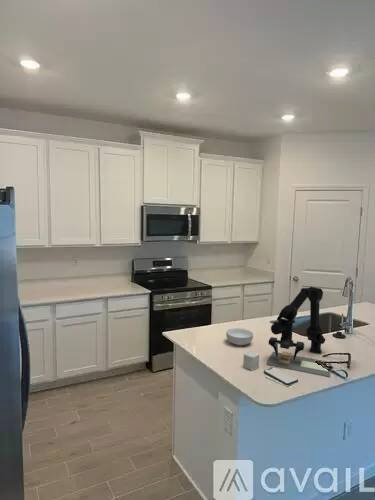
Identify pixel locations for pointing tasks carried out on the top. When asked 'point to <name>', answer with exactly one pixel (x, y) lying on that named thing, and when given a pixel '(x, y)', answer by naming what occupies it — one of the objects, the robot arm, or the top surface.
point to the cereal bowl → (239, 336)
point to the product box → (251, 360)
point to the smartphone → (280, 376)
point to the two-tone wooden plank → (285, 358)
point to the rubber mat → (300, 365)
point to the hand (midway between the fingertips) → (285, 358)
